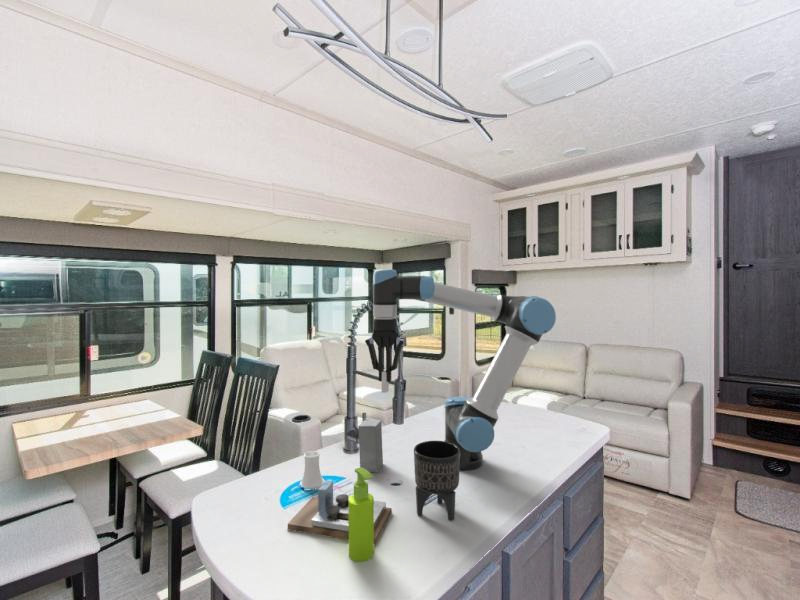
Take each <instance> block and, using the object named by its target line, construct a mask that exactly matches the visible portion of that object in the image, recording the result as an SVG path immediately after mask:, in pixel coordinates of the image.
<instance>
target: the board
mask: <svg viewBox="0 0 800 600" xmlns="http://www.w3.org/2000/svg"><path fill="white" fill-rule="evenodd" d="M349 497H350V496H349V495H348V494H344V493H343V494H338V496H337V497H336V502H337V503H339V506H343V507H349V506H346V502H348V500H349ZM339 506H335V505H333V506H329V507H328V508H327V514H328V515H329V518H333V519H339V520H345V521H349V519H344V518H338V517H337V514H339V513H340V507H339ZM392 511H393V510H392V507H387V506H386V508H385V510H384V512H383V513H382V515H381V517H380V519H379V521H378V523H377V524H376V526H375V528H374V546H375V545H376V544H377V543H378V541H379V540H380V537H381V536H382V534H383V531H384V530H385V527H386V525H387V524H388V521H389V519H390V517H391V516H392V514H393V513H392ZM317 513H318V496H317V497H316V496H312V497H311V498H310V499H309V500H308V501H307V502H306V503H305V504H304V505H303V507H301V508H300V510H298V512H297V513H296V514H295V515H294V516H293V517H292V518H291V519H290V521H288V523H287V530H288V529H290V530H289V531H294V530H296V531H295V532H299V531H301V532H300V533H305V532H306V534H312V535H319V536H324V537H330V538H336V539H342V540H347V541H349V531H343V530H337V529H331V528H324V527H318V526H312V525H311V520H312V518H313V517H314V516H315V515H316V514H317Z"/></svg>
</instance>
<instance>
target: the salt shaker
mask: <svg viewBox="0 0 800 600" xmlns="http://www.w3.org/2000/svg"><path fill="white" fill-rule="evenodd" d="M303 456H304V470H303V471H304V472H303V476H302V478H301V480H300V481H299V486H300V485H301V487H304V488H305V489H306V488H307V489H310V490H311V489H313V491H318V489H319V488H320V487H321V486H322V485H323V484H324V483H325V479H324V478H323V475H322V474H321V469H320V452H319V451H317V450H310V451H309V450H308V451H306V452H305V453H304V454H303ZM315 488H316V489H315ZM314 489H315V490H314Z"/></svg>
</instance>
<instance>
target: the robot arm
mask: <svg viewBox="0 0 800 600" xmlns="http://www.w3.org/2000/svg"><path fill="white" fill-rule="evenodd" d="M372 277H373V278H372V297H373V298H372V299H373V300H372V302H373V303H372V308H373V310H372V315H373V320H372V322H373V323H372V324H373V328H372V329H373V332H372V334H371V337H370V338H368V339H365V341H364V343H365V344H366V345H367V347H368V351H369V356H370V361H371V364H372V369H373V370H377V371H378V381H379V382H381V393H388V392H389V390H390V389H389V386H390V385H389V383H390V382H391V381H392V371H395V370H396V369H398V366H399V363H400V357H401V353H402V349H403V346H404V345H405V343H406V341H405V340H404V339H402V338H400V337H399V334H398V328H397V327H398V319H396V318H397V314H398V312H397V311H398V309H397V308H398V305H397V304H398V302H397V301H398V300H416V301H419V302H426V303H429V304H434V305H438V306H443V307H446V308H449V309H450V308H451V309H455V310H458V311H459V310H460V311H462V312H463V311H464V312H468V313H473V314H477V315H482V316H486V317H490V318H491V320H492V321H495V322H498V323H502V324H505V326H504V328H505V336H504V337H503V339H502V341H501V344H500V346H499V347H498V349H497V350H496V352H495V355H494V357H493V358H492V360H491V362H490V364H489V365H488V368H487V370H486V372H485V374H484V375H483V378H482V379H481V381H480V383H479V385H478V386H477V389H476V391H475V392H474V394H473V396H472V397H471V396H450V397H447V398H446V399H445V404H444V408H445V409H444V410H445V411H444V413H445V415H444V418H445V419H444V421H445V422H444V423H445V424H444V425H445V427H444V428H445V429H444V435H445V437H444V438H445V439H444V441H445V442H449V443H452V444H455V445H456V446H458V447H459V448H460V451H461V452H460V471H468V470H475V469H478V468H480V467H482V465H483V461H484V460H483V454H482V452H484V451H486V450H487V449H488V448H489V447H490V446H491V445H492V443H494V440H495V426H496V424H497V421H498V420H499V415H498V409H499V407H500V405H501V403H502V402H503V399H504V398H505V395H506V393H507V392H508V390H509V389H510V386H511V384H512V382H513V381H514V379H515V377H516V375H517V373H518V372H519V369H520V367H521V365H522V363H523V361H524V360H525V358H526V356H527V354H528V352H529V350H530V348H531V347H532V346H533V345H538V344H539V342H540V340H541V338H542V336H543V335H545V334H547V333H548V332H550V331H551V330H553V328H554V326H555V324H556V320H557V315H556V311H555V308H554V306H553V305H552V303H551V302H550V301H548V300H547V299H545V298H543V297H539V296H524V295H523V296H519V295H518V296H513V295H504V294H497V295H491V294H487V293H482V292H478V291H475V290H474V291H473V290H470V289H465V288H460V287H457V286H456V287H455V286H452V285H448V284H443V283H440V282H435V280H434V277H432V276H430V275H404V276H402V275H398V274H397V270H396V269H377V270H376V269H375V270H374V272H373V276H372ZM374 343H375V344H376V346H377V353H376V348H375V345H374ZM395 343H396V348H395V351H394V355H393V354H392V353H393V351H392V350H393V345H394V344H395ZM377 354H378V356H377Z"/></svg>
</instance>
